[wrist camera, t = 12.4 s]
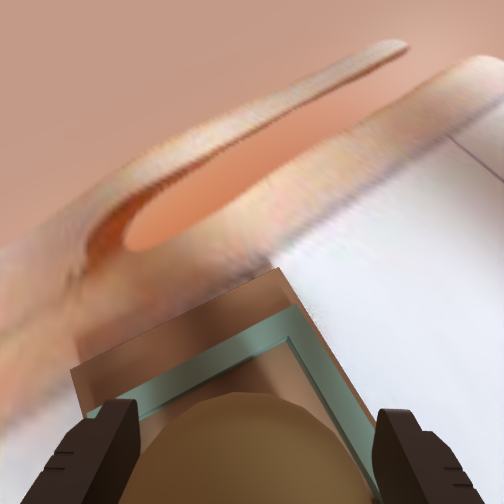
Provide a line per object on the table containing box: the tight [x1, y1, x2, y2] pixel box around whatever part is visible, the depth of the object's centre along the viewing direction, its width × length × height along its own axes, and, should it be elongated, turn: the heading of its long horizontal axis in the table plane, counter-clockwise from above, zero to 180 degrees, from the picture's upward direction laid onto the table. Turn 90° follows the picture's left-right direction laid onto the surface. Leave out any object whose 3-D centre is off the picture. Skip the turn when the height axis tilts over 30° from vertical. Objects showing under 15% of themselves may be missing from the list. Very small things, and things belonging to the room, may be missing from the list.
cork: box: [118, 392, 372, 504], centre depth 10 cm, size 6×6×11 cm
